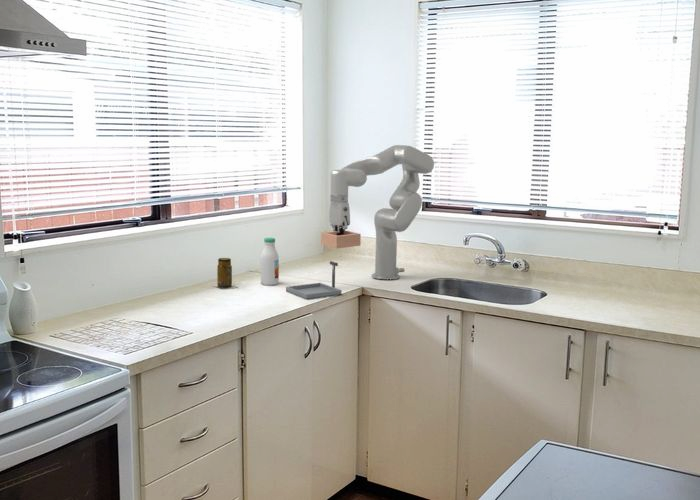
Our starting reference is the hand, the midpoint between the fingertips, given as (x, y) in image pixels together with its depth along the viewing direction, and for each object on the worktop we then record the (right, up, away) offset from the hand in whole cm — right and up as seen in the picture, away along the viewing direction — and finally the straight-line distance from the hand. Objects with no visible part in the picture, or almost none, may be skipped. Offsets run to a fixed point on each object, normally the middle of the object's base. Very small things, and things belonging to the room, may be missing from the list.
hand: (338, 241), depth 328 cm
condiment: (-48, -20, -5) cm, 52 cm away
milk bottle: (-30, -19, +2) cm, 35 cm away
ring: (+1, -2, -6) cm, 6 cm away
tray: (-10, -21, -14) cm, 28 cm away
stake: (-2, -20, -4) cm, 20 cm away
